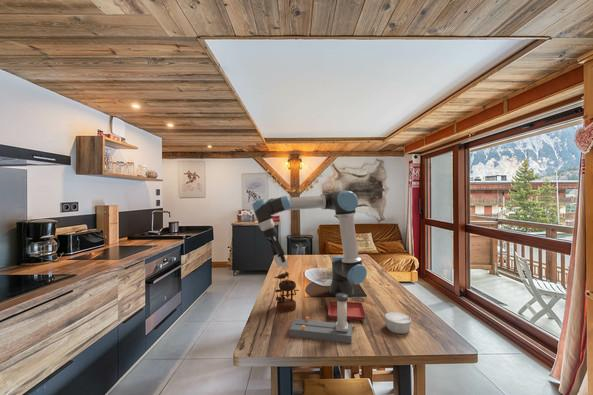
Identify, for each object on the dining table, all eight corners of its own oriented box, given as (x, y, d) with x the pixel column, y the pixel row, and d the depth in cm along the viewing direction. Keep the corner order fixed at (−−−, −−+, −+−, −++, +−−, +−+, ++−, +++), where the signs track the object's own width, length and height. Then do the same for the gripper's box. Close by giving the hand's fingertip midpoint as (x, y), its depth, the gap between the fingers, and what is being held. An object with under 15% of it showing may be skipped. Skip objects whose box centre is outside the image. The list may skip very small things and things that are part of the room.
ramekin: (409, 337, 108) (409, 325, 108) (382, 330, 114) (382, 319, 114) (413, 327, 118) (412, 315, 118) (387, 321, 123) (387, 310, 124)
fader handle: (335, 330, 107) (335, 297, 107) (336, 323, 113) (336, 292, 113) (348, 331, 106) (347, 298, 106) (348, 325, 112) (348, 293, 112)
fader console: (289, 336, 109) (289, 325, 110) (295, 325, 119) (294, 315, 119) (351, 343, 104) (351, 332, 104) (351, 331, 113) (351, 321, 113)
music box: (279, 314, 130) (277, 274, 132) (271, 308, 140) (269, 271, 142) (305, 309, 137) (303, 271, 139) (295, 303, 147) (294, 268, 149)
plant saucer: (328, 321, 124) (328, 314, 124) (328, 306, 142) (328, 300, 142) (366, 323, 121) (366, 316, 121) (362, 308, 139) (362, 302, 139)
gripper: (258, 232, 143) (271, 268, 142) (265, 229, 120) (281, 272, 118) (270, 227, 146) (284, 263, 144) (280, 224, 122) (296, 266, 120)
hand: (282, 267), depth 131 cm, fingers open, 13 cm apart
